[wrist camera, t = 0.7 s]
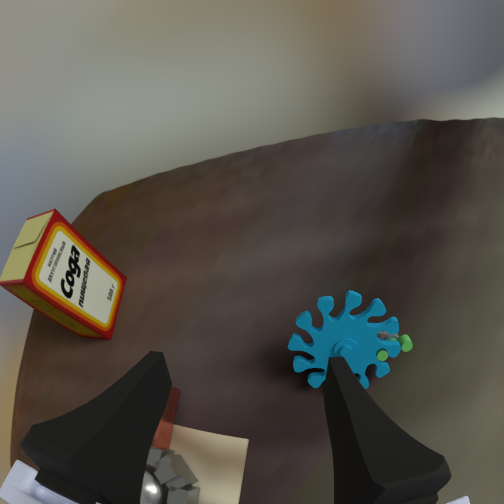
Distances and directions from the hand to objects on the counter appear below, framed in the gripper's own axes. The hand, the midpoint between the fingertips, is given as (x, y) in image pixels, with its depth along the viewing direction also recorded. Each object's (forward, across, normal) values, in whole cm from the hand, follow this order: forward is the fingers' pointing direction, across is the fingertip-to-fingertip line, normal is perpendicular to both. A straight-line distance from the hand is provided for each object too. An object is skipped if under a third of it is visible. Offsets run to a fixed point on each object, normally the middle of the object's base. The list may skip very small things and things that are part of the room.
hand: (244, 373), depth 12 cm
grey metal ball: (+2, +11, +22) cm, 25 cm away
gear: (+13, -8, +11) cm, 19 cm away
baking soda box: (+22, +23, +12) cm, 34 cm away
